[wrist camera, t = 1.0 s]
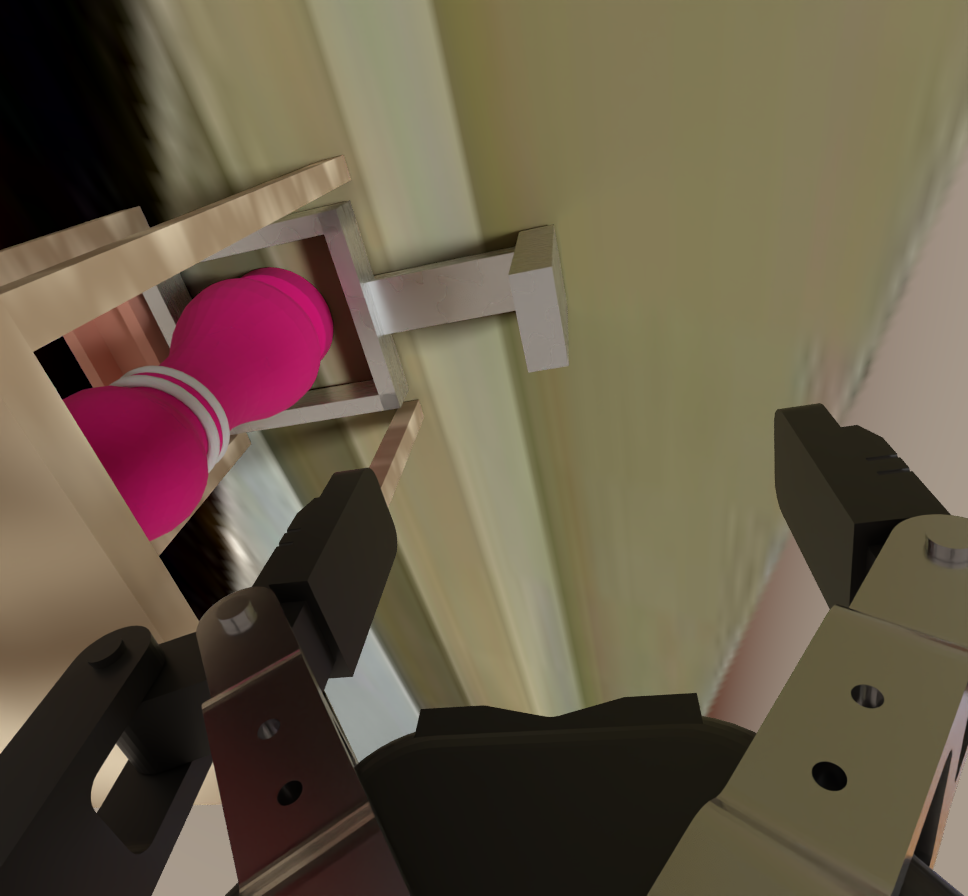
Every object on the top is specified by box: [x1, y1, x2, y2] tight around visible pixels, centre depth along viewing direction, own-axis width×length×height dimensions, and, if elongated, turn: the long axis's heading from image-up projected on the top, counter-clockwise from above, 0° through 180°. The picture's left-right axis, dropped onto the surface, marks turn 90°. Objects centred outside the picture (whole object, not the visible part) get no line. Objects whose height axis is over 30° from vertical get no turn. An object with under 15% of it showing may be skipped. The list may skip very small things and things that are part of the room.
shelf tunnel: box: [0, 155, 424, 808], centre depth 27 cm, size 15×13×24 cm
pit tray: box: [63, 293, 170, 388], centre depth 38 cm, size 12×5×2 cm, turn 13°
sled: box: [142, 200, 569, 435], centre depth 32 cm, size 11×22×8 cm, turn 103°
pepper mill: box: [63, 267, 333, 541], centre depth 28 cm, size 7×7×20 cm
